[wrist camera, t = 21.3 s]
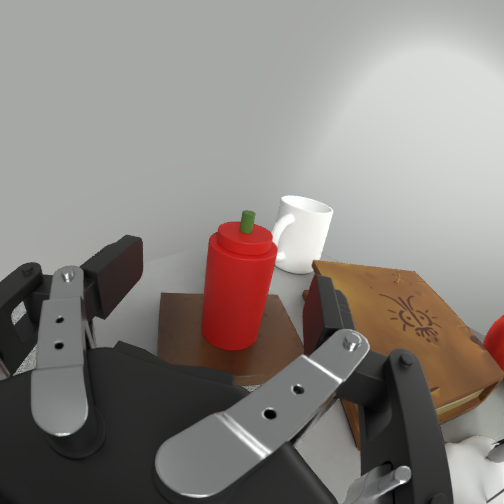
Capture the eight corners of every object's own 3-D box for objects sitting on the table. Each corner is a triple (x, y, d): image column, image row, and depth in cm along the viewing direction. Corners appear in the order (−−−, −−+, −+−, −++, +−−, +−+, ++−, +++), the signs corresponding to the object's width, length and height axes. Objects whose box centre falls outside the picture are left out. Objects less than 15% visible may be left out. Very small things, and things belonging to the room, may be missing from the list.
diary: (478, 406, 19) (508, 373, 16) (357, 451, 16) (394, 417, 14) (404, 300, 39) (418, 270, 37) (302, 295, 37) (313, 258, 34)
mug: (284, 289, 37) (302, 219, 33) (242, 263, 42) (253, 199, 37) (324, 266, 46) (341, 210, 41) (287, 247, 50) (299, 194, 46)
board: (158, 387, 20) (156, 377, 19) (161, 302, 30) (161, 292, 29) (310, 378, 24) (315, 368, 23) (275, 304, 34) (277, 294, 33)
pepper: (227, 359, 22) (249, 231, 17) (189, 324, 26) (198, 205, 20) (268, 334, 26) (298, 220, 21) (231, 306, 30) (249, 199, 24)
